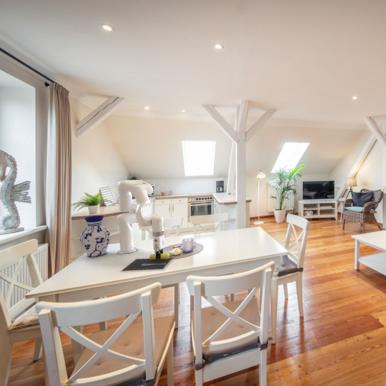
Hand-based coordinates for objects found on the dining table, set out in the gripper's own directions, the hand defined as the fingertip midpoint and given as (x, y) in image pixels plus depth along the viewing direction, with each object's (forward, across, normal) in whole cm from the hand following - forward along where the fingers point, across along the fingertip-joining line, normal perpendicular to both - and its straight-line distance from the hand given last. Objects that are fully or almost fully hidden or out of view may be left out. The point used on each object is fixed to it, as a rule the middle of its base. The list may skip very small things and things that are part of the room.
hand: (159, 257), depth 164 cm
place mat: (+3, -6, +5) cm, 8 cm away
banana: (+1, 0, 0) cm, 1 cm away
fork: (+2, -8, 0) cm, 8 cm away
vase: (+2, +18, +54) cm, 57 cm away
